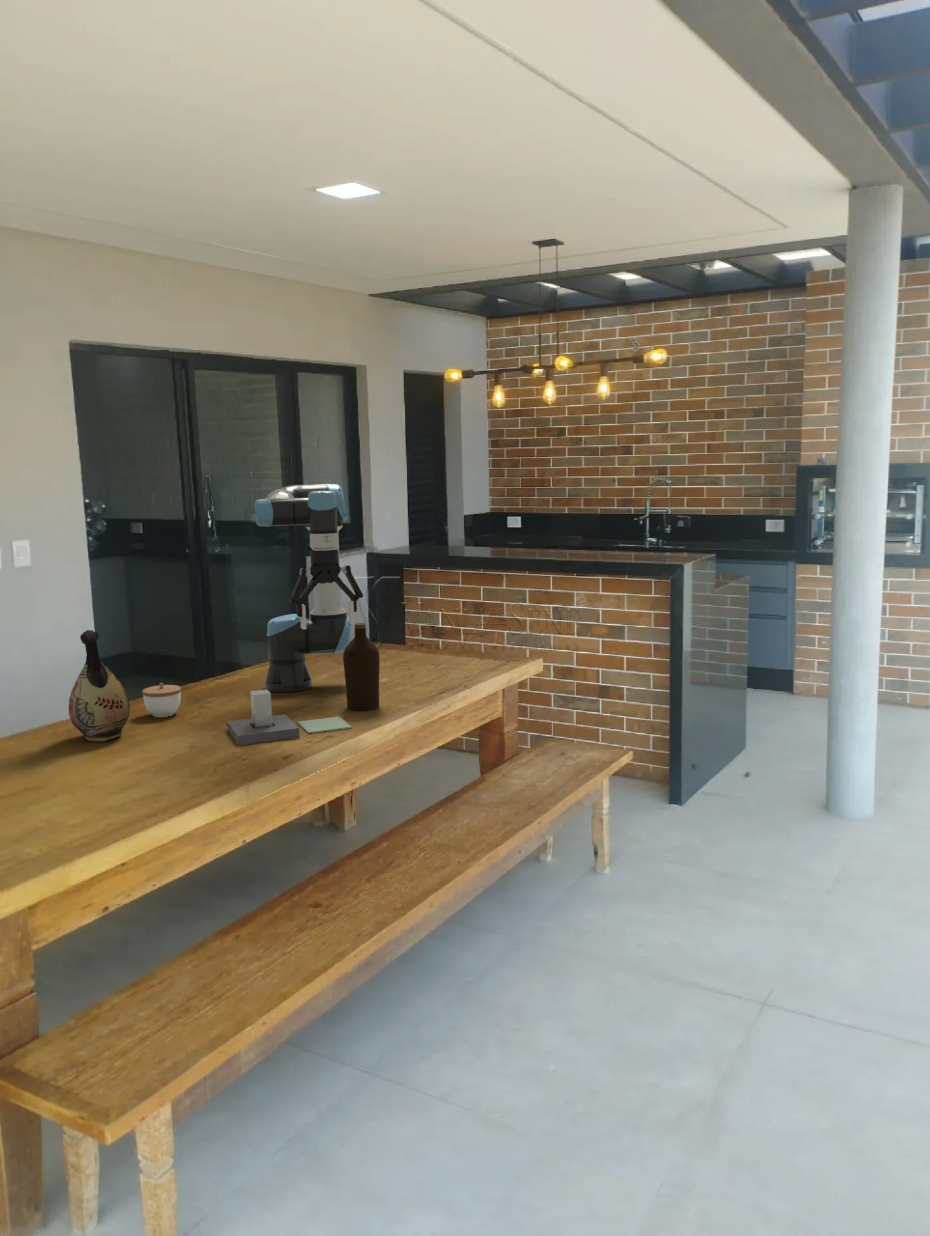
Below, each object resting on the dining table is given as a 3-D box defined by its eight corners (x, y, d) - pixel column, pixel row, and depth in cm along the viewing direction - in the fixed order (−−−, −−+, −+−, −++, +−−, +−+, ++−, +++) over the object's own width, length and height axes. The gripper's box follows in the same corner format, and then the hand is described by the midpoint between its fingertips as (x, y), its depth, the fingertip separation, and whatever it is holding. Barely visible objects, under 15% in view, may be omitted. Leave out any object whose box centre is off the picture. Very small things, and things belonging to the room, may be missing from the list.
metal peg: (252, 732, 271) (250, 691, 269) (269, 730, 273) (267, 689, 271) (256, 737, 267) (253, 695, 265) (273, 734, 269) (270, 693, 267)
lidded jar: (190, 712, 295) (188, 681, 293) (165, 721, 285) (162, 689, 284) (161, 708, 299) (159, 678, 298) (136, 717, 290) (133, 686, 288)
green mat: (297, 723, 279) (297, 721, 279) (339, 718, 284) (339, 716, 284) (308, 734, 269) (308, 732, 268) (351, 728, 273) (351, 726, 273)
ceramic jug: (70, 734, 274) (60, 626, 269) (129, 727, 280) (120, 621, 275) (72, 750, 258) (62, 636, 253) (135, 742, 264) (126, 630, 259)
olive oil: (379, 711, 291) (376, 626, 287) (343, 712, 291) (339, 627, 287) (382, 702, 301) (379, 620, 297) (347, 703, 301) (344, 621, 297)
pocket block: (227, 730, 274) (227, 721, 274) (285, 723, 280) (284, 714, 280) (238, 745, 259) (238, 735, 259) (299, 737, 266) (298, 728, 265)
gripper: (282, 552, 262) (286, 632, 265) (372, 547, 272) (375, 624, 276) (275, 550, 268) (279, 628, 272) (363, 545, 279) (366, 620, 282)
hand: (327, 626), depth 274 cm, fingers open, 13 cm apart
